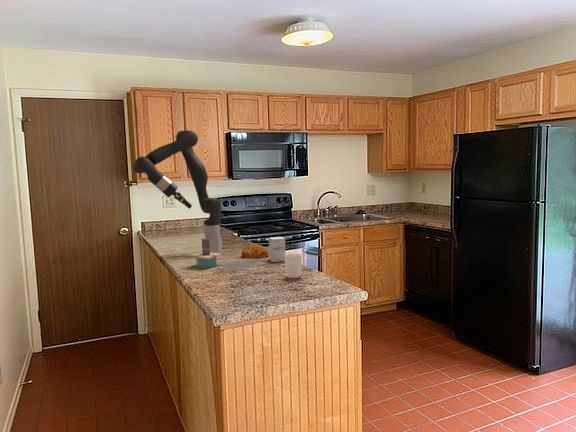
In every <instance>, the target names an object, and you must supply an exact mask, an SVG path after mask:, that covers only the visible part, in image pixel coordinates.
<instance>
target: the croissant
mask: <svg viewBox="0 0 576 432" xmlns="http://www.w3.org/2000/svg"><path fill="white" fill-rule="evenodd" d="M241 257H242V258H244V259H261V258H263V259H264V258H267V257H269V250H267V248H266V247H265V246H264V245H262V244H250V245H247V246H245V247H244V248H242V250H241Z"/></svg>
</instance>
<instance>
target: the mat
mask: <svg viewBox="0 0 576 432" xmlns="http://www.w3.org/2000/svg"><path fill="white" fill-rule="evenodd" d="M260 264H261V262H252V261H244V260H235V261H231V262H228V263H224V264H221V265H218V266H217V267H219V268H227V269H236V270H237V269H238V270H245V269H248V268H251V267H254V266H256V265H260Z"/></svg>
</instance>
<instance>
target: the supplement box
mask: <svg viewBox="0 0 576 432" xmlns="http://www.w3.org/2000/svg"><path fill="white" fill-rule="evenodd" d="M268 249H269V250H268V253H269V255H268V257H269V261H270V262H271V263H276V262H277V263H278V262H285V256H284V255H285V254H286V238H285V237H283V236H276V237H275V236H274V237H273V236H272V237H268Z"/></svg>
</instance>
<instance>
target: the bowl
mask: <svg viewBox="0 0 576 432" xmlns="http://www.w3.org/2000/svg"><path fill="white" fill-rule="evenodd" d="M217 259H218V257H214V258H210V259H200V258H195V260H196V262H195V263H196V267H197V268H202V269H205V268H206V269H208V268H215V267H216V266H217V265H218V262H217V261H218V260H217Z"/></svg>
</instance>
